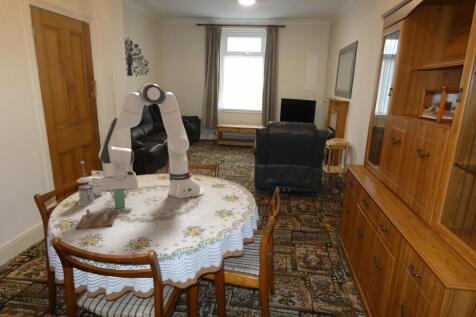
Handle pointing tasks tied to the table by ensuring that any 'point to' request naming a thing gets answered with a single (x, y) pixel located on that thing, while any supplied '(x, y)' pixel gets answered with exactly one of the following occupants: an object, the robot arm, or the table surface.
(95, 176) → the ink cartridge box
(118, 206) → the green rectangular block
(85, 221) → the standoff cradle
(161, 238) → the table surface
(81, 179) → the french press
